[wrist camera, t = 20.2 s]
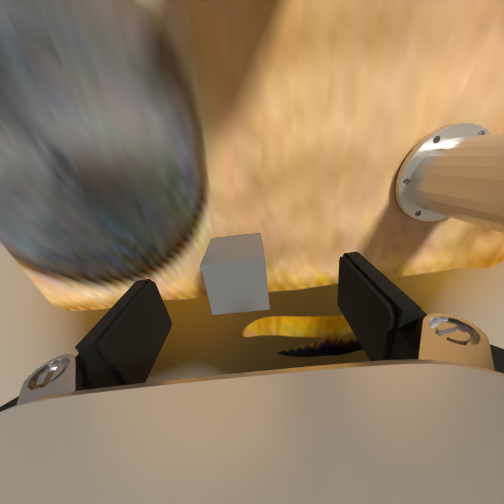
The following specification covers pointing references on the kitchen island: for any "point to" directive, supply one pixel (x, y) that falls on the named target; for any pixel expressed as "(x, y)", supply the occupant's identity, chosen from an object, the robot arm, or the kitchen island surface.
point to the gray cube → (235, 274)
